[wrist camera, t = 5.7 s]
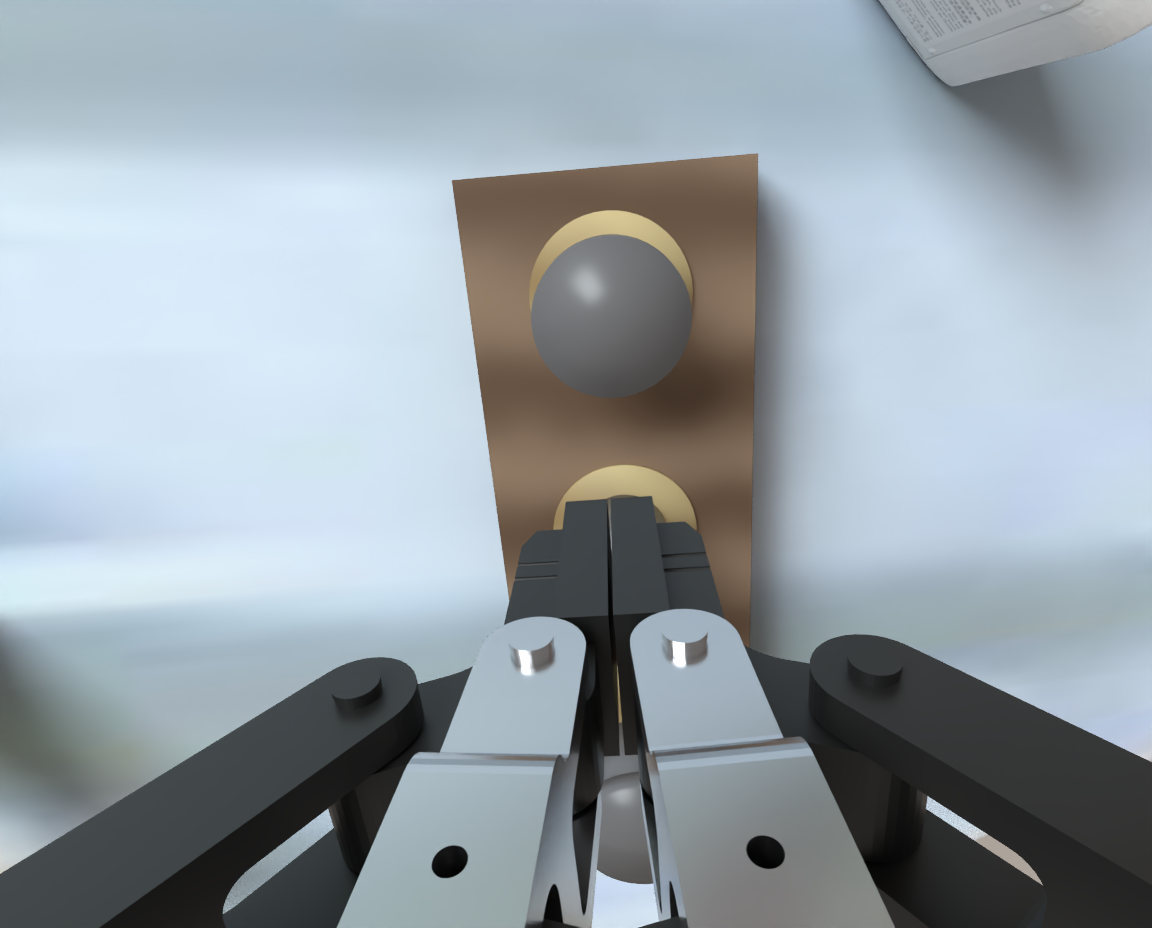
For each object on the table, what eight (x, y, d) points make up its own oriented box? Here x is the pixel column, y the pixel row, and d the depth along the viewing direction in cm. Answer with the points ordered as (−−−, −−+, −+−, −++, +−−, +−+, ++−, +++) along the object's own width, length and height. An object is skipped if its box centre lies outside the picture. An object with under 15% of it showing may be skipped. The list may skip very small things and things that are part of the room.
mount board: (735, 726, 42) (748, 781, 38) (540, 732, 43) (534, 787, 39) (739, 156, 30) (759, 153, 26) (470, 180, 31) (450, 180, 27)
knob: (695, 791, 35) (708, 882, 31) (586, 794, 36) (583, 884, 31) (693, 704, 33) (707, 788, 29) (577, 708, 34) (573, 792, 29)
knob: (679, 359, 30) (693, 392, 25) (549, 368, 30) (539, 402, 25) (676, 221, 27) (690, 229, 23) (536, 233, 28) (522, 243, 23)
